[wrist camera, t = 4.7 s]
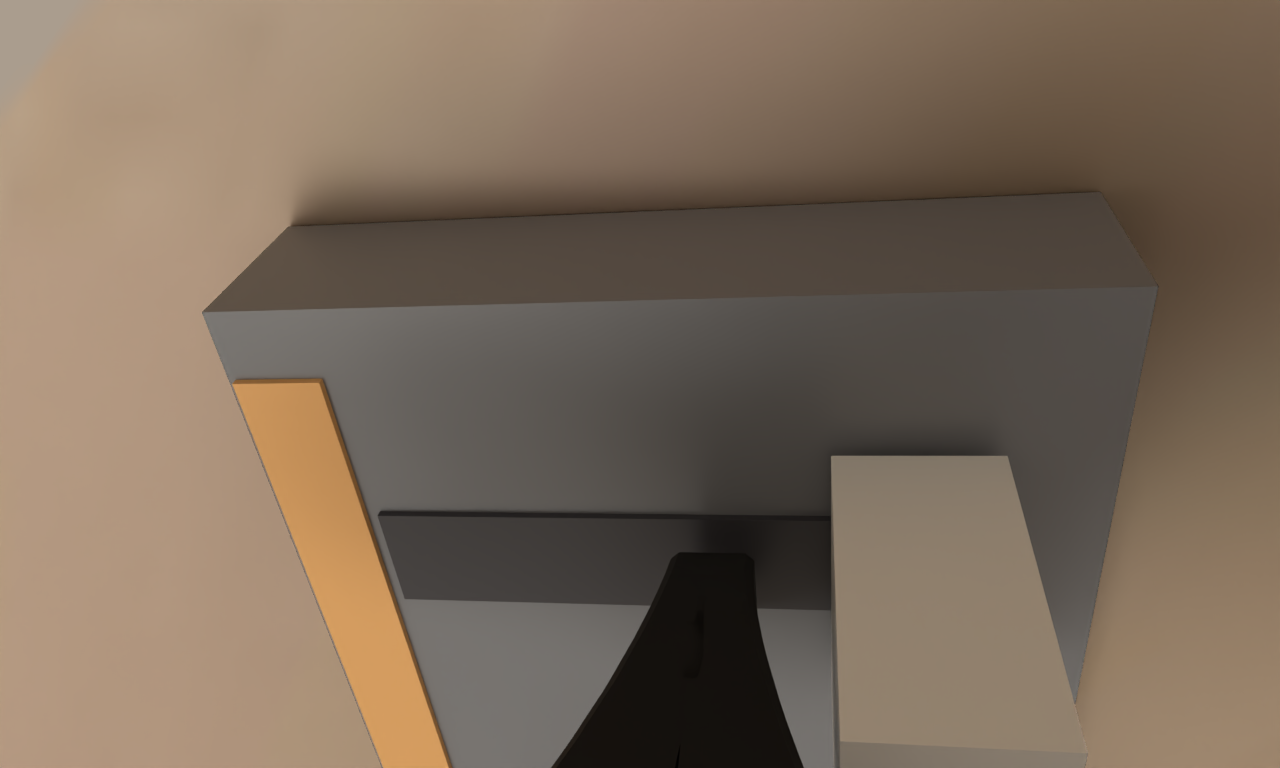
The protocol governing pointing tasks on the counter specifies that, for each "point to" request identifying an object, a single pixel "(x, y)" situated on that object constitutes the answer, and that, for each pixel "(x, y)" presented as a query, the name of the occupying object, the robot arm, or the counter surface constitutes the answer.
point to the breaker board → (659, 429)
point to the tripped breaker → (941, 621)
